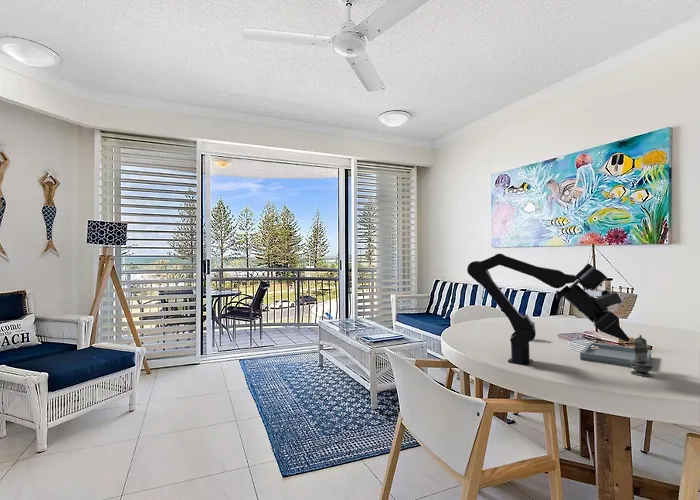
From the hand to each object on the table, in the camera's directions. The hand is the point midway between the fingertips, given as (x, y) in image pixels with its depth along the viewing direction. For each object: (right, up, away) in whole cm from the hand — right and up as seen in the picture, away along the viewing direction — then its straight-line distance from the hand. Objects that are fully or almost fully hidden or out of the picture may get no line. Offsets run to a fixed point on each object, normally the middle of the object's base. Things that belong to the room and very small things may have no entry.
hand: (624, 337), depth 113 cm
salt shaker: (+4, -11, -2) cm, 12 cm away
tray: (+8, -11, +15) cm, 20 cm away
